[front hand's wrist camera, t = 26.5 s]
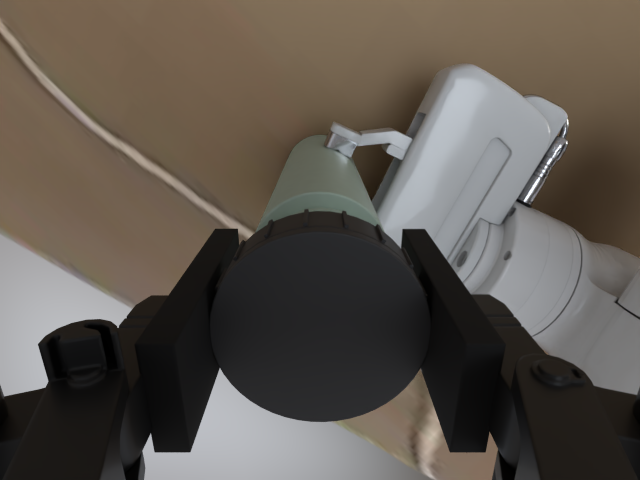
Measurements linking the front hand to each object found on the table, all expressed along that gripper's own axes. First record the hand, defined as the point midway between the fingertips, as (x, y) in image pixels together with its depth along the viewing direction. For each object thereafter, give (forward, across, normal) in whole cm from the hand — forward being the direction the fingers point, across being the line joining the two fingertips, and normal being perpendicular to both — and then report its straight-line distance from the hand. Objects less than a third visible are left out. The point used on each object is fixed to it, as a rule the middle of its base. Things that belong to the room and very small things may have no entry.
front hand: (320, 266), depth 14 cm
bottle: (+19, 0, 0) cm, 19 cm away
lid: (-4, 0, 0) cm, 4 cm away
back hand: (+13, -1, 0) cm, 13 cm away
